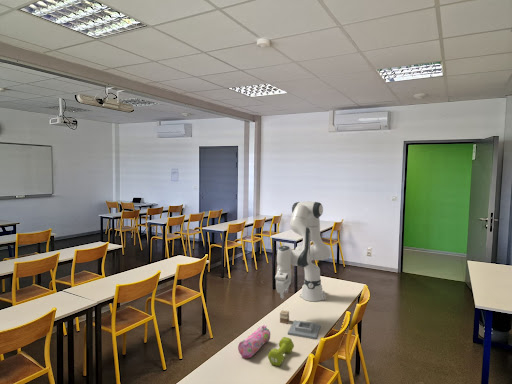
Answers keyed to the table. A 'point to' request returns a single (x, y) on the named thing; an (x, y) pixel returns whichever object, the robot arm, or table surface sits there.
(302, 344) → the table surface
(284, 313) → the stack block
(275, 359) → the dumbbell
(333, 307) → the table surface
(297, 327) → the socket board
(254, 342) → the pencil case
